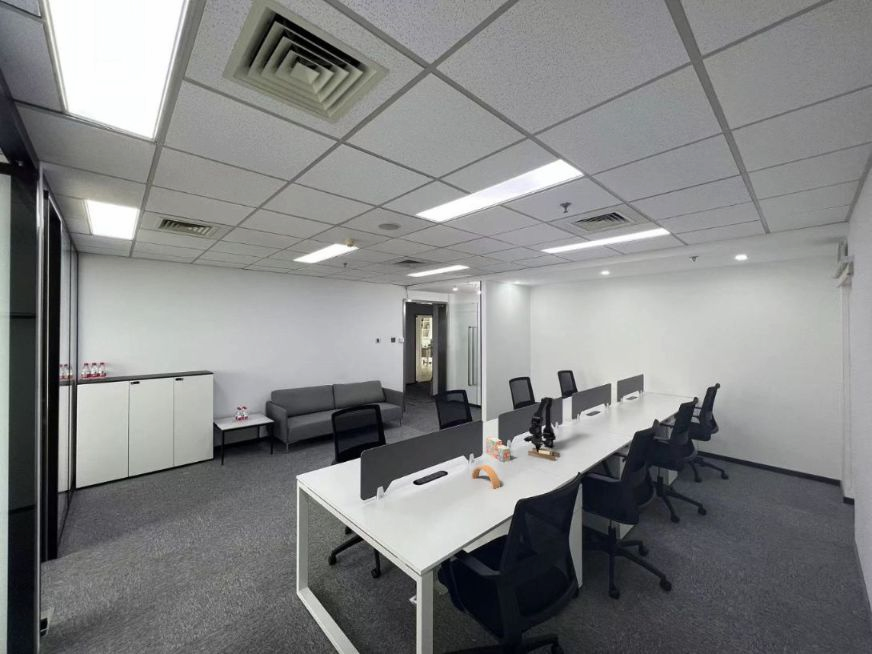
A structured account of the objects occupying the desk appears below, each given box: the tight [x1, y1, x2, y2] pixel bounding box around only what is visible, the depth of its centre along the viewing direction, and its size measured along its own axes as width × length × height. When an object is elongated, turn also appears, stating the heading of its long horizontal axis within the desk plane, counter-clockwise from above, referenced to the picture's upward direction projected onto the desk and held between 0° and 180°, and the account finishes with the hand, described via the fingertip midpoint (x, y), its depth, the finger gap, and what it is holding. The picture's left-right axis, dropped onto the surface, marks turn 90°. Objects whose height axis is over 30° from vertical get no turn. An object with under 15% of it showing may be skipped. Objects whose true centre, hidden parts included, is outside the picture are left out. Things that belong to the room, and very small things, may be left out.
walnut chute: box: [527, 447, 560, 462], centre depth 260 cm, size 10×20×3 cm, turn 52°
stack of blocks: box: [485, 436, 511, 463], centre depth 260 cm, size 21×6×12 cm, turn 26°
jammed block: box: [539, 447, 553, 455], centre depth 259 cm, size 6×8×4 cm
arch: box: [471, 464, 501, 490], centre depth 215 cm, size 6×20×10 cm, turn 34°
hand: (538, 452), depth 263 cm, fingers closed
